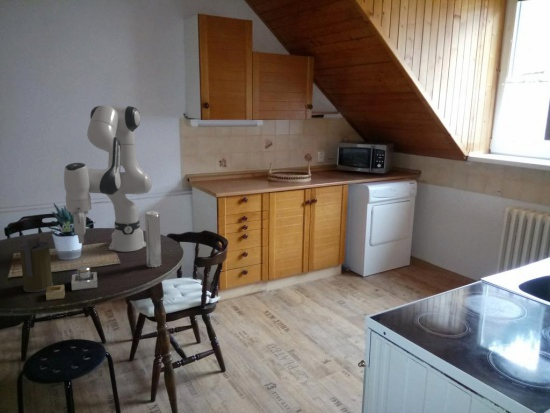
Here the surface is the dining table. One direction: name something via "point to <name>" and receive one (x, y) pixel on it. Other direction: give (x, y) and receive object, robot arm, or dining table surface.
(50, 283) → the canister
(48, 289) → the narrow socket
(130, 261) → the dining table surface
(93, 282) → the wide socket
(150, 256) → the light grey piece
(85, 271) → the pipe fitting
